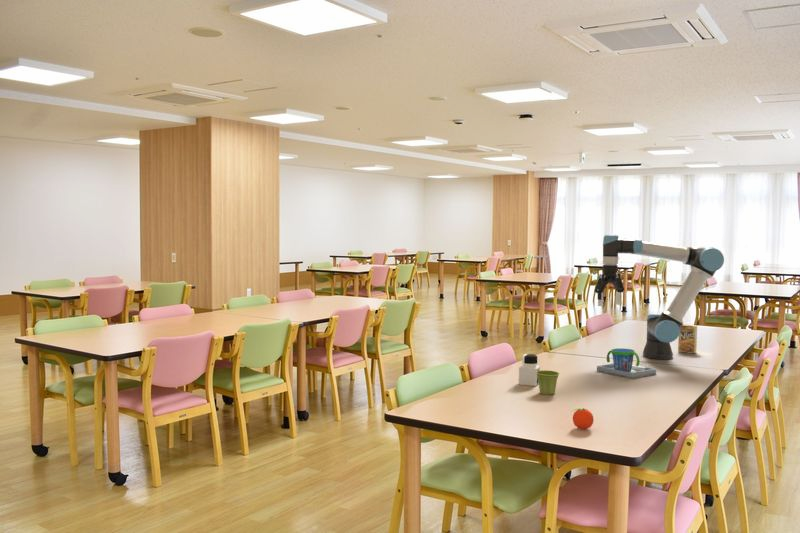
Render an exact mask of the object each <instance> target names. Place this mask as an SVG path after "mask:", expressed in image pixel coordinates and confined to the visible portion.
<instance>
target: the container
mask: <svg viewBox="0 0 800 533" xmlns="http://www.w3.org/2000/svg"><path fill="white" fill-rule="evenodd" d="M521 363H522V365H521V366H518V385H521V386H531V387H537V385H538V386H539V380H538V376H537V373H536V372H537V371H541V366H540V365H538V356H537V354H532V353H524V354H523V355H522V362H521Z"/></svg>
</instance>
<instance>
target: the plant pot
mask: <svg viewBox="0 0 800 533" xmlns="http://www.w3.org/2000/svg"><path fill="white" fill-rule="evenodd" d="M536 373H537V376H538V380H539V384H538V387H539V393H540V394H542V395H546V396H549V395H555V393H556V389H557V388H556V387H557V381H558V378H559V375H560V373H559V372H558V371H555V370H549V369H548V370H545V369H544V370H541V369H540V371H537V372H536Z"/></svg>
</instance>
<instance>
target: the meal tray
mask: <svg viewBox="0 0 800 533" xmlns="http://www.w3.org/2000/svg"><path fill="white" fill-rule="evenodd" d="M596 372H599V373H605V374H607V375H608V374H609V375H614V376H617V377H622V378H626V379H630V380H632V379H636V378H637V377H638V378H641V377H642V378H643V376H644V377H649V376H654V374H655V375H657V369H656V368H653V367H647V366H643V365H639V366H636V364H635V363H634V364H633V363H632V368H631V372H626V371H621V370H616V369H614V363H613V362H612V363H607V364H601V365H596ZM648 375H649V376H648Z"/></svg>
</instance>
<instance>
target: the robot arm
mask: <svg viewBox="0 0 800 533" xmlns="http://www.w3.org/2000/svg"><path fill="white" fill-rule="evenodd" d="M619 254H629V255H630V254H631V255H638V256H645V257H648V258H649V257H650V258H655V259H662V260H663V259H664V260H669V261H675V262H681V263H682V264H683V265H687V266H690V272H689V274H688V275H687V277H686V278H685V281H684V282H683V283H682V284H681V287H680V288H679V290H678V291H677V293H676V294H675V296H674V298H673V300H672V302H671V303H670V305H669V306H668V308H667V309H666V310H664V311H661V313H660V314H657V313H656V314H654V313H653V314H652V313H650V314H648V315H647V317H646V342H645V345H644V348H643V351H642V357H644V358H647V359H653V360H671V359H673V358H674V352H673V350H672V346H671V343H672V342H675V341H676V340H677V339H679V334H680V328H681V326H682V325H684V322H683V320H684V319H683V318H684V317H685V316H686V314H687V312H688V311H689V309H690V307H691V306H692V304H693V303H694V301H695V300H696V298H697V296H698V294H699V293H700V291H701V289H703V286H704V285H705V283H706V282H707V280H708V279H711V278H713V276H714V275H715V273H716V272H717V271H718V270H720V269H722V267H723V265H724V264H725V258H724V254H723V252H722V251H721V250H719V249H718V248H715V247H712V246H709V247H707V246H700V247H699V246H688V245H687V246H686V247H681V246H676V245H675V246H674V245H668V244H662V243H655V242H649V241H643V240H642V239H640V238H627V237H626V238H619V235H618V234H605V235H604V236H603V240H602V264H603V265H602V272H603V274H602V273H601V274H600V273H599V276H598V280H597V283H596V286H595V289H594V293H595V294H597V307H604V293H603V292H604V290H605V289H606V287H607V286H608V284H609V283H611V284H612V285H613V287H614V288H615V290H616V292H615V305H616V306H617V305H619V306H621V305H622V304H621V300H622V293H624V291H625V287H624V284H623V281H622V276H621V273H618V272H619V269H618V268H619V267H618V264H619Z"/></svg>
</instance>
